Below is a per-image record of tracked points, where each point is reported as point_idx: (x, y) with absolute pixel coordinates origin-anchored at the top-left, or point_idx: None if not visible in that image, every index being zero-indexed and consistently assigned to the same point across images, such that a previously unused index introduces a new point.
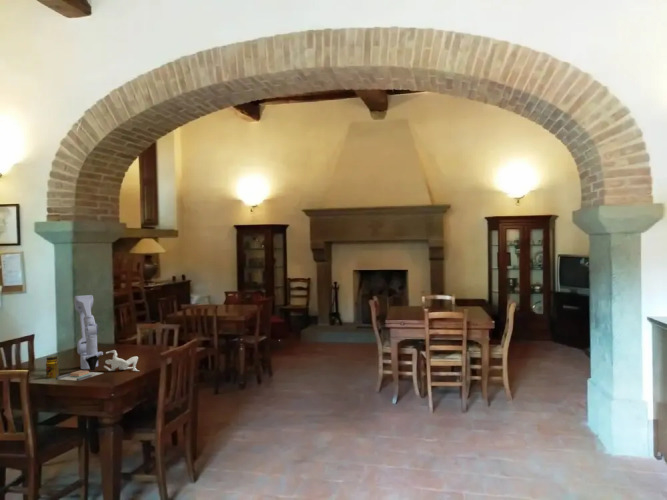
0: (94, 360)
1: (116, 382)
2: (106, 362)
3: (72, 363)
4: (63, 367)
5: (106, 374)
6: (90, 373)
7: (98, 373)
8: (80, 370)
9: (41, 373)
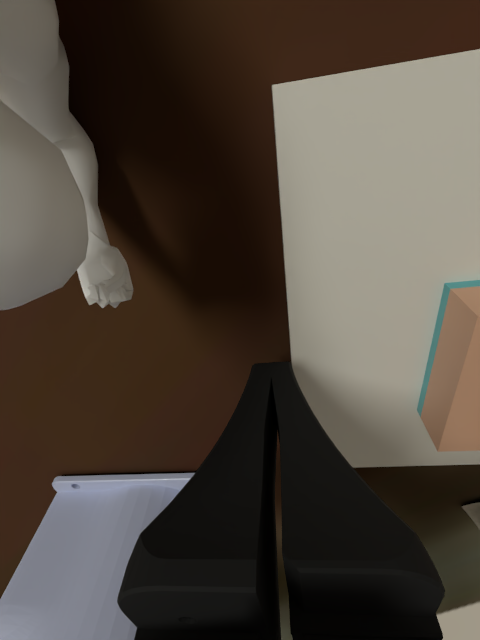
0: (307, 509)
1: None
2: (67, 188)
3: None
4: None
5: (263, 3)
6: (377, 309)
7: (351, 165)
8: (449, 444)
9: None
